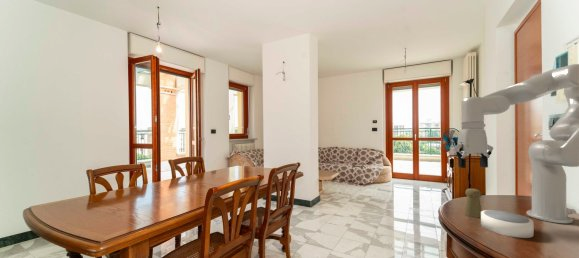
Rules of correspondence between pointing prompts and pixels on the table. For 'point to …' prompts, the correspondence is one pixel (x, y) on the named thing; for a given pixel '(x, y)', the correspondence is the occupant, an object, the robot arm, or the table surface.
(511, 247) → the table surface
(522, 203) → the table surface
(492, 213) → the podium
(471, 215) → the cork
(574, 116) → the robot arm
